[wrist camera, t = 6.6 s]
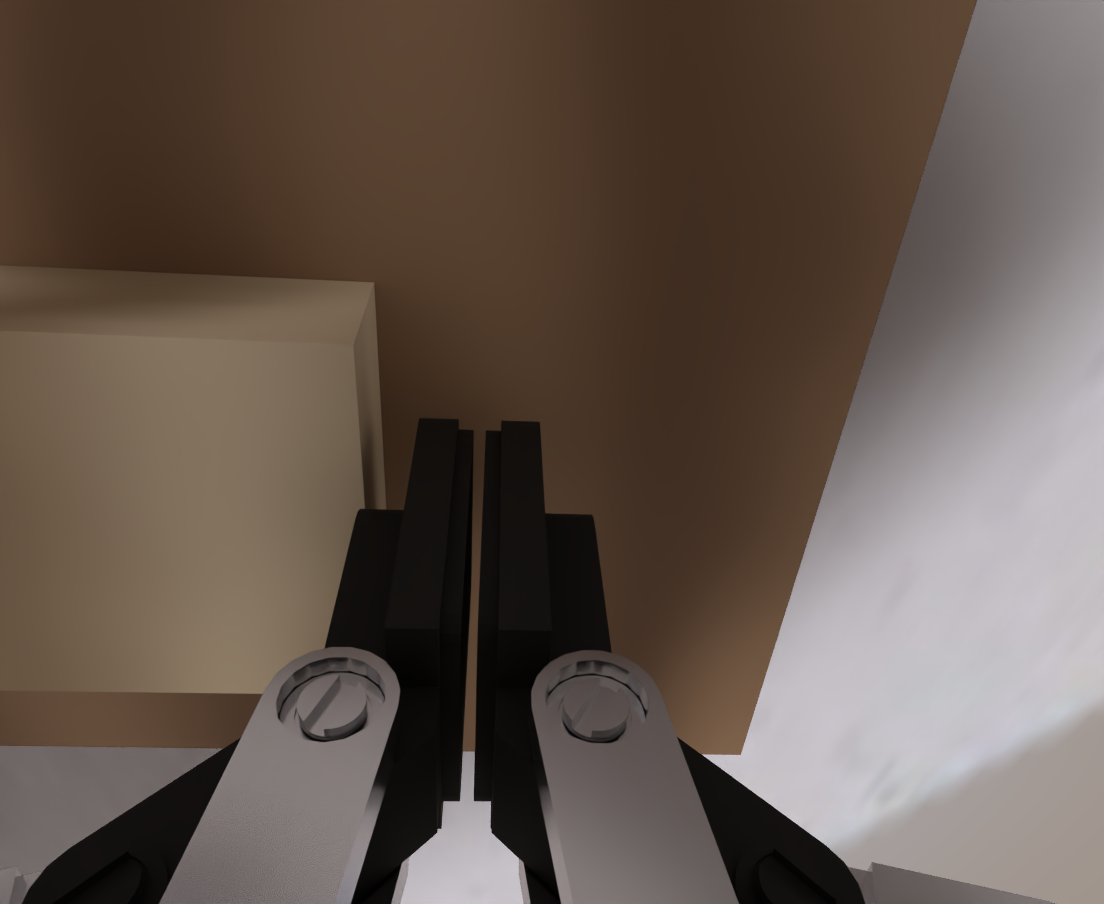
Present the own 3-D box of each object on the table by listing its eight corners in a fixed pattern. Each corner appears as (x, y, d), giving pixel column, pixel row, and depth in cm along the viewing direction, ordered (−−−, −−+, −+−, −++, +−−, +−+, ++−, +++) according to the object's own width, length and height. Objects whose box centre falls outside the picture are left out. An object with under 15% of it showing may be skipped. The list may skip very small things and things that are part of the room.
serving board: (866, -66, 13) (990, -44, 9) (703, 612, 21) (740, 754, 17) (-444, -178, 11) (-832, -198, 8) (-84, 592, 19) (-207, 743, 16)
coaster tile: (373, 282, 11) (353, 344, 10) (391, 611, 15) (378, 694, 13) (-358, 249, 11) (-500, 310, 9) (-164, 601, 14) (-245, 687, 12)
